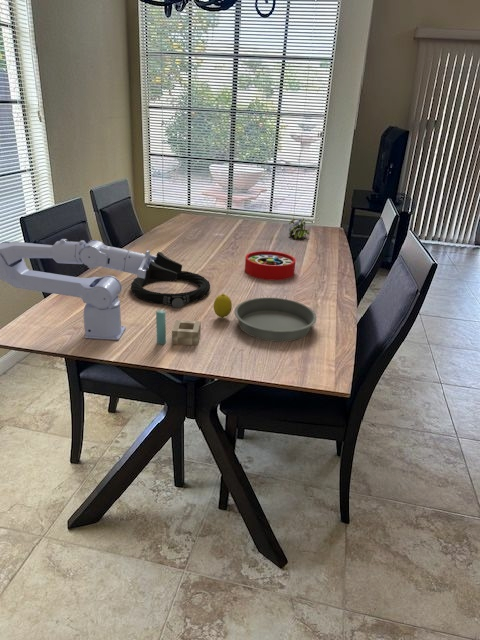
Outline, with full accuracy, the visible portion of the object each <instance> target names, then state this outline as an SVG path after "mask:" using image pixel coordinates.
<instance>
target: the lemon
mask: <svg viewBox="0 0 480 640" xmlns="http://www.w3.org/2000/svg"><path fill="white" fill-rule="evenodd" d="M232 307H233V304H232V300H231V298H230V297H229V296H228V295H227V294H225V293H221V294H219V295H217V296H216V297H215V299H214V302H213V311H214V313H215V314H216V316H218V317H220V319H224V318H225V317H228V316H229V315H230V314H231V312H232V309H233V308H232Z"/></svg>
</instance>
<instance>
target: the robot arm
mask: <svg viewBox="0 0 480 640" xmlns="http://www.w3.org/2000/svg"><path fill="white" fill-rule="evenodd" d="M150 253H151V250H146V251H145V253H141V252H139V251H133V250H128V249H124V248H120V247H115V246H108V245H106V244H105V243H104V242H102V241H100V240H97V239H91V240H89V241H88V242H86V241H85V240H83V239H81V240H80V241H69V240H68V239H67V238H61V239H60V240H57V241H56V242H55V243H54V244H53V245H52V244H43V243H42V244H41V243H31V242H22V241H17V240H14V241H8V240H7V241H1V242H0V280H2V281H4V282H5V283H7V284H8V285H10V286H12V287H14V288H16V289H21V290H26V291H27V290H28V291H33V292H35V291H36V292H41V293H47V294H53V295H61V296H65V297H66V296H68V297H72V298H73V297H75V298H80V299H81V300H82V302H83V303H84V304H85V306H84V309H83V324H84V334H85V335H84V338H85V339H93V340H96V339H97V340H110V341H111V340H114V341H118V340H120V339H121V337H122V335H123V334H124V332H125V331H126V329H127V327H126V326H125V325H122V316H121V315H122V314H121V301H120V298H119V294H121V292H122V283H121V281H120V279H118V278H117V277H116V276H114V275H104V276H93V277H92V276H91V277H87V278H85V277H78V276H71V275H66V274H65V275H64V274H57V273H52V272H44V271H39V270H31V269H29V268H28V267H27V264H26V261H25V259H52V260H54V261H55V263H57V264H70V265H71V264H72V265H85V266H87V268H88V269H95V268H97V267H101V268H106V269H109V270H115V271H119V272H123V273H128V274H132V275H135V276H136V278H137V277H139V278H145V277H146V284H147V285H148V284H149V285H150V284H153V283H159V282H176V281H177V280H176V278H177V273H181V271H183V270H182V269H183V264H181V263H179V262H178V261H175V260H173V259H170V258H169V257H167V256H166V255H164V254H163V253H162V252H161V251H158V252H157V253H156V255H154V254H150Z"/></svg>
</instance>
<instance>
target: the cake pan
mask: <svg viewBox="0 0 480 640" xmlns="http://www.w3.org/2000/svg"><path fill="white" fill-rule="evenodd" d="M234 316H235V317H236V319H237V320H238V323H239V327H240V329H241V330H242V331H243V332H244V333H246V334H248V335H249V336H252V337H254V338H256V339H260V340H264V341H270V342H271V341H272V342H290V341H295V340H296V341H297V340H299V339H302V338H304V337H305V336H307V335H308V334H309V332H310V330H311V328H312V326H314V324H315V323H316V322H317V315H316V313H315V311H314V310H313V309H312V308H310V307H308V306H307V305H305V304H303V303H301V302H298V301H295V300H291V299H287V298H282V297H281V298H280V297H257V298H252V299H251V298H250V299H247V300H244V301H243V302H241V303H238V304H237V306H235V308H234Z"/></svg>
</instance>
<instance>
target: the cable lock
mask: <svg viewBox="0 0 480 640" xmlns="http://www.w3.org/2000/svg"><path fill="white" fill-rule="evenodd" d="M179 280H180V281H184V282H191V283H193V284H195V285H197V286H199V287H198V288H197V289H193V290H191V291H187V292H186V291H185V292H179V293H170V292H169V293H167V292H166V293H165V292H163V293H161V292H156V291H151V290H148V289H146V288H144V287H143V286H144V285H146V284H147V283H146V277H145V278H139V277H137V276H136V277H135V278H134V279H133V281H132V282H131V283H130V289H131V292H132V293H133V294H134V295H135V297H137V298H138V299H141V300H142V301H146V302H149V303H152V304H163V305H165V306H171V308H174V309H180V308H182V307H183V306H184V305H188V304H189V303H193V302H195V301H199V300H201V299H203V298H204V297H206V296H207V295H208V293H209V292H210V291H211V283H210V281H209V280H208V279H207V278H205V276H203V275H200V274H198V273H194V272H191V271H185V270H181V273H177V278H176V281H179Z"/></svg>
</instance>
